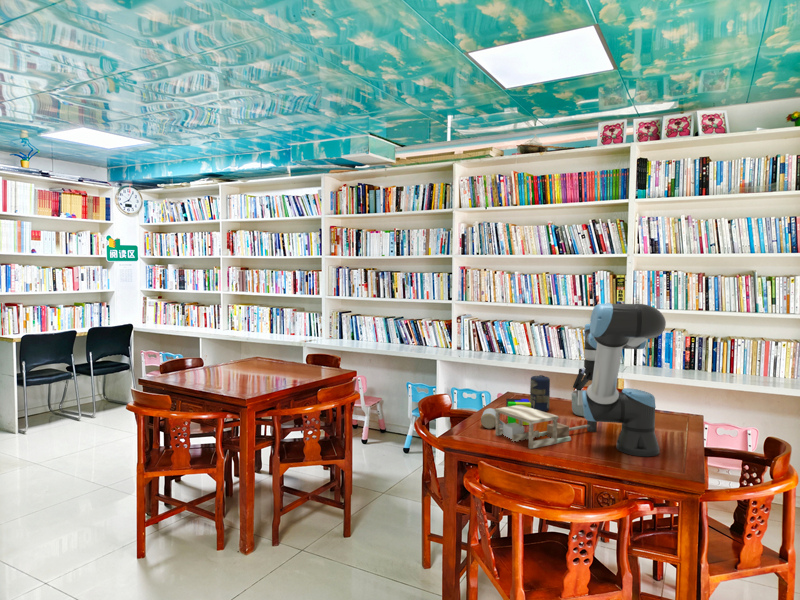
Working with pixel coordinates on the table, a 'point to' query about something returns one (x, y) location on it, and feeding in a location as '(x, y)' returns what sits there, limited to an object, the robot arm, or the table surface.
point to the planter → (576, 404)
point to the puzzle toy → (513, 403)
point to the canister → (540, 392)
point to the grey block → (512, 429)
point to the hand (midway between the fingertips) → (592, 408)
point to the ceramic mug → (490, 419)
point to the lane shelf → (530, 425)
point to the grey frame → (564, 430)
